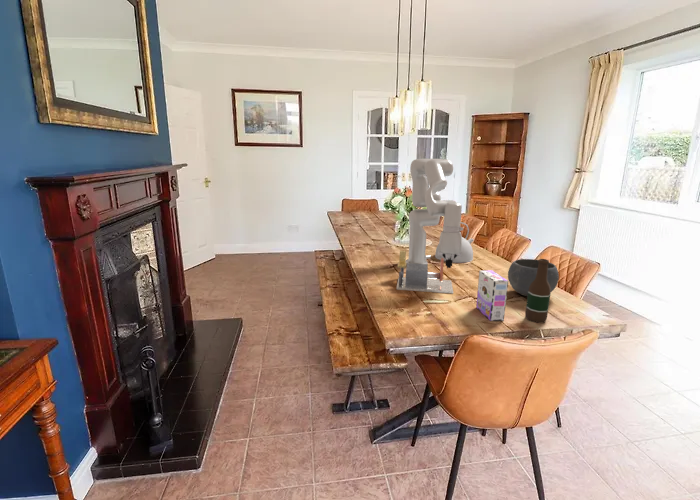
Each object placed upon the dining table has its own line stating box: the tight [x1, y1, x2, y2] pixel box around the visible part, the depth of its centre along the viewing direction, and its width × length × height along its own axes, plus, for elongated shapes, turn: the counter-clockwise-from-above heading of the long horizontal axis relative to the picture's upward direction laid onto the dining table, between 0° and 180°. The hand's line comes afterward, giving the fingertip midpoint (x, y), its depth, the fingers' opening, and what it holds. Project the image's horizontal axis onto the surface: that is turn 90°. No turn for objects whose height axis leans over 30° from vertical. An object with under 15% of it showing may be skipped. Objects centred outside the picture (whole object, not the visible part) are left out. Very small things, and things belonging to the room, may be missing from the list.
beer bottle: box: [524, 258, 552, 324], centre depth 143 cm, size 8×8×24 cm
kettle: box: [434, 221, 475, 264], centre depth 230 cm, size 25×23×22 cm
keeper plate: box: [397, 250, 407, 269], centre depth 187 cm, size 4×7×7 cm, turn 169°
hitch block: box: [396, 263, 454, 294], centre depth 182 cm, size 26×18×9 cm
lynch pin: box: [427, 258, 445, 282], centre depth 180 cm, size 16×5×11 cm, turn 79°
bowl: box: [507, 258, 560, 297], centre depth 170 cm, size 20×20×15 cm
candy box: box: [476, 269, 509, 322], centre depth 149 cm, size 14×6×16 cm, turn 5°
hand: (448, 267), depth 178 cm, fingers closed
